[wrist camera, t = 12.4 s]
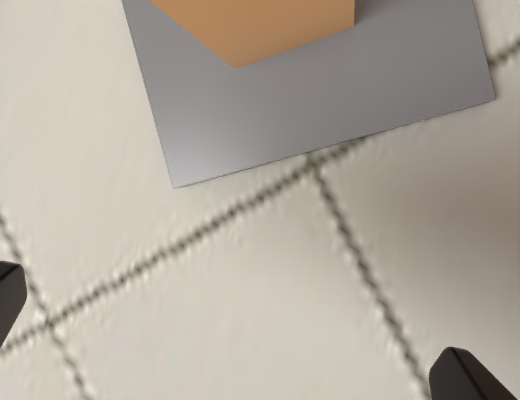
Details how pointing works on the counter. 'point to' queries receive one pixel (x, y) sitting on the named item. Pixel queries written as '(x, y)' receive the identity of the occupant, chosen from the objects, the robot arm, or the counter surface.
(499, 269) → the counter surface
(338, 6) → the tall tan pillar
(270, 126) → the base plate
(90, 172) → the counter surface
